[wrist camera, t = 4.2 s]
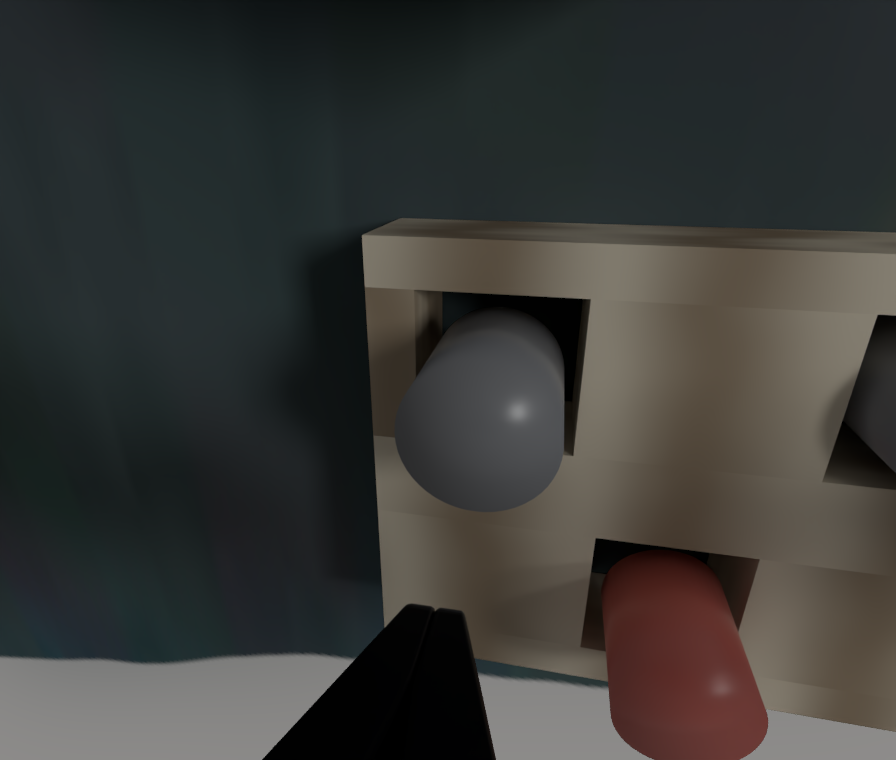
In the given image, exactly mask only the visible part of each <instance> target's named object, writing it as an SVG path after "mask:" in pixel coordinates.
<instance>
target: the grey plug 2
mask: <svg viewBox="0 0 896 760" xmlns="http://www.w3.org/2000/svg"><path fill="white" fill-rule="evenodd" d="M843 421H844V422H845V423H846V424H847V425H848V426H849V427H850V428H851V429H852V430H853V431H854V432H855V433H856V434H857V435H858V436H859V437H860V438H861V439H862V440H863V441H864V442H865V443H866V444H867V445H868V446H869V447H870V448H871V449H872V450H873V451H874V452H875V453H876V454H877V455H878V456H879V457H880V458H881V459H882V460H883V461H884V462H885V463H886V464H887V465H888V466H889V467H890V468H891V469H892V470H893V471H894V472H895V473H896V316H895V315H877V318H876V321H875V324H874V327H873V330H872V333H871V336H870V339H869V342H868V345H867V348H866V351H865V354H864V357H863V360H862V363H861V366H860V369H859V372H858V376H857V379H856V382H855V385H854V388H853V391H852V394H851V397H850V400H849V403H848V406H847V409H846V412H845V415H844V418H843Z"/></svg>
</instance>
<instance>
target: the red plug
mask: <svg viewBox="0 0 896 760" xmlns="http://www.w3.org/2000/svg"><path fill="white" fill-rule="evenodd" d="M601 598H602V610H603V623H604V636H605V648H606V661H607V673H608V686H609V699H610V711H611V719H612V722H613V725H614V727H615V729H616V731H617V732H618V734H619V735H620V736H621V738H622V739H623V740H624V741H625V742H626V743H627V744H629V745H630V746H631V747H632V748H634V749H635V750H637V751H639V752H640V753H642V754H643V755H646V756H647V757H649V758H652V759H654V760H739V759H741V758H743V757H745V756H747V755H748V754H750V753H751V752H753V751H754V750H755V749H756V748H757V747H758V746H759V745H760V744H761V742H762V741H763V739H764V737H765V735H766V733H767V728H768V717H767V712H766V709H765V706H764V704H763V701H762V698H761V695H760V692H759V690H758V687H757V684H756V681H755V678H754V675H753V673H752V670H751V667H750V664H749V661H748V658H747V656H746V653H745V650H744V647H743V644H742V642H741V639H740V636H739V633H738V630H737V627H736V625H735V622H734V619H733V616H732V613H731V611H730V608H729V605H728V602H727V599H726V596H725V594H724V591H723V588H722V585H721V583H720V580H719V579H718V577H717V575H716V574H715V573H714V572H713V570H712V569H711V568H709V567H708V566H707V565H706V564H705V563H703V562H702V561H700V560H698V559H697V558H695V557H693V556H690V555H688V554H685V553H681V552H677V551H672V550H647V551H642V552H638V553H635V554H632V555H629V556H627V557H625V558H623V559H622V560H620V561H619V562H617V563H616V564H615V565H614V566H613V567H612V568H611V569H610V570H609V571H608V573H607V574H606V576H605V578H604V580H603V583H602V587H601Z"/></svg>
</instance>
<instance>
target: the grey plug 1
mask: <svg viewBox="0 0 896 760" xmlns="http://www.w3.org/2000/svg"><path fill="white" fill-rule="evenodd" d="M394 434H395V442H396V446H397V450H398V453H399V456H400V458H401V461H402V463H403V464H404V466H405V468H406V470H407V471H408V473H409V474H410V475H411V477H412V478H413V479H414V480H415V481H416V482H417V483H418V484H419V485H420V486H421V487H422V488H423V489H424V490H425V491H427V492H428V493H429V494H431V495H432V496H434V497H435V498H437V499H439V500H441V501H442V502H444V503H447V504H449V505H452V506H454V507H457V508H461V509H464V510H470V511H476V512H497V511H504V510H508V509H512V508H516V507H518V506H521V505H523V504H525V503H527V502H529V501H531V500H532V499H534V498H535V497H537V496H538V495H539V494H541V493H542V492H543V491H544V490H545V489H546V488H547V487H548V486H549V484H550V483H551V482H552V480H553V479H554V477H555V476H556V474H557V472H558V470H559V467H560V464H561V462H562V457H563V452H564V359H563V355H562V351H561V349H560V346H559V344H558V342H557V340H556V339H555V337H554V335H553V334H552V333H551V332H550V330H549V329H548V328H547V327H546V326H545V325H544V324H543V323H541V322H540V321H539V320H537V319H536V318H535V317H533V316H531V315H529V314H527V313H525V312H522V311H520V310H516V309H512V308H507V307H487V308H482V309H478V310H475V311H472V312H470V313H468V314H466V315H464V316H462V317H461V318H459V319H458V320H457V321H455V322H454V323H453V324H452V325H451V326H450V327H449V328H448V330H447V331H446V332H445V334H444V335H443V337H442V338H441V340H440V341H439V343H438V344H437V346H436V347H435V349H434V351H433V352H432V354H431V355H430V357H429V358H428V360H427V361H426V363H425V364H424V366H423V368H422V369H421V371H420V372H419V374H418V375H417V377H416V378H415V380H414V381H413V383H412V385H411V386H410V388H409V389H408V391H407V392H406V394H405V395H404V397H403V399H402V401H401V403H400V405H399V408H398V411H397V414H396V419H395V431H394Z"/></svg>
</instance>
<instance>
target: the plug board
mask: <svg viewBox="0 0 896 760" xmlns="http://www.w3.org/2000/svg"><path fill="white" fill-rule="evenodd" d="M362 247H363V264H364V282H365V299H366V316H367V333H368V350H369V368H370V385H371V402H372V419H373V437H374V454H375V471H376V488H377V505H378V523H379V540H380V557H381V574H382V592H383V609H384V626H385V627H386V626H387V625H388V624H389V622H390V621H391V620H392V619H393V618H394V617H395V616H396V615H397V614H398V613H399V612H400V611H401V610H402V608H403V607H404V606H405V605H407V604H410V603H413V604H420V605H427V606H432V607H433V608H434V609H435V611H436V610H437V609H438V608H448V609H455V610H461V611H463V612H464V614H465V617H466V621H467V626H468V631H469V635H470V640H471V645H472V649H473V654H474V658H477V659H483V660H489V661H494V662H500V663H506V664H511V665H517V666H523V667H529V668H534V669H540V670H546V671H551V672H557V673H563V674H568V675H574V676H580V677H586V678H591V679H597V680H603V681H608V673H607V661H606V648H605V636H604V623H603V610H602V598H601V587H602V583H603V580H604V578H605V576H606V574H602V573H595V572H591V567H592V560H593V553H594V546H595V539H596V538H600V539H607V540H615V541H623V542H631V543H638V544H646V545H654V546H661V547H669V548H677V549H684V550H692V551H700V552H708V553H709V557H708V561H707V566H708V567H709V568H711V569H712V570H713V572H714V573H715V574H716V575H717V577H718V579H719V580H720V583H721V585H722V588H723V591H724V594H725V596H726V599H727V602H728V605H729V608H730V611H731V613H732V616H733V619H734V622H735V625H736V627H737V630H738V633H739V636H740V639H741V642H742V644H743V647H744V650H745V653H746V656H747V658H748V661H749V664H750V667H751V670H752V673H753V675H754V678H755V681H756V684H757V687H758V690H759V692H760V695H761V698H762V701H763V704H764V706H765V709H769V710H774V711H780V712H786V713H791V714H797V715H803V716H808V717H814V718H820V719H826V720H832V721H837V722H843V723H848V724H854V725H860V726H865V727H871V728H877V729H883V730H889V731H894V732H896V473H895V472H894V471H893V470H892V469H891V468H890V467H889V466H888V465H887V464H886V463H885V462H884V461H883V460H882V459H881V458H880V457H879V456H878V455H877V454H876V453H875V452H874V451H873V450H872V449H871V448H870V447H869V446H868V445H867V444H866V443H865V442H864V441H863V440H862V439H861V438H860V437H859V436H858V435H857V434H856V433H855V432H854V431H853V430H852V429H851V428H850V427H849V426H848V425H841V424H842V421H843V418H844V415H845V412H846V409H847V406H848V403H849V400H850V397H851V394H852V391H853V388H854V385H855V382H856V379H857V376H858V372H859V369H860V366H861V363H862V360H863V357H864V354H865V351H866V348H867V345H868V342H869V339H870V336H871V333H872V330H873V327H874V324H875V321H876V318H877V315H895V316H896V233H889V232H855V231H821V230H787V229H753V228H719V227H685V226H651V225H617V224H583V223H549V222H515V221H481V220H447V219H413V218H400V219H397V220H395V221H393V222H391V223H388V224H386V225H384V226H381V227H379V228H377V229H375V230H372V231H370V232H368V233H365V234H363V235H362ZM442 291H447V292H466V293H484V294H503V295H522V296H540V297H559V298H578V299H583V303H582V312H581V321H580V331H579V340H578V350H577V359H576V369H575V378H574V388H573V397H572V402H571V401H564V452H563V457H562V462H561V464H560V467H559V470H558V472H557V474H556V476H555V477H554V479H553V480H552V482H551V483H550V484H549V486H548V487H547V488H546V489H545V490H544V491H543V492H542V493H541V494H539V495H538V496H537V497H535V498H534V499H532V500H531V501H529V502H527V503H525V504H523V505H521V506H518V507H516V508H512V509H508V510H504V511H497V512H476V511H470V510H464V509H461V508H457V507H454V506H452V505H449V504H447V503H444V502H442V501H441V500H439V499H437V498H435V497H434V496H432V495H431V494H429V493H428V492H427V491H425V490H424V489H423V488H422V487H421V486H420V485H419V484H418V483H417V482H416V481H415V480H414V479H413V478H412V477H411V475H410V474H409V473H408V471H407V470H406V468H405V466H404V464H403V463H402V461H401V458H400V456H399V453H398V450H397V446H396V442H395V434H394V431H395V419H396V414H397V411H398V408H399V405H400V403H401V401H402V399H403V397H404V395H405V394H406V392H407V391H408V389H409V388H410V386H411V385H412V383H413V381H414V380H415V378H416V377H417V375H418V374H419V372H420V371H421V369H422V368H423V366H424V364H425V363H426V361H427V360H428V358H429V357H430V355H431V354H432V352H433V351H434V349H435V347H436V346H437V344H438V343H439V341H440V340H441V338H442Z"/></svg>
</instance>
